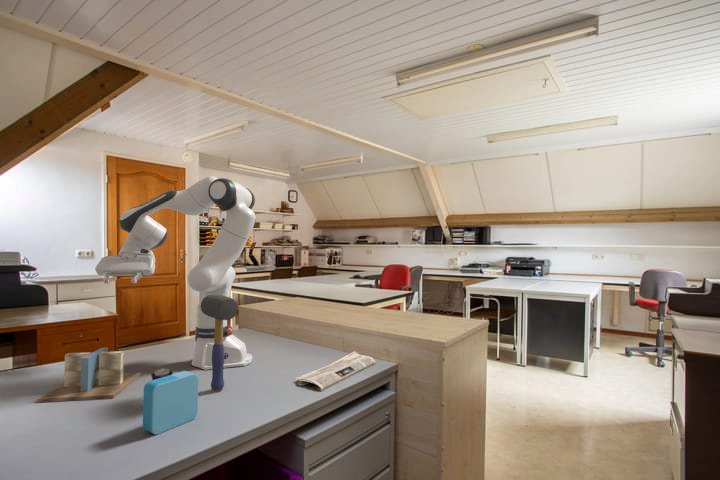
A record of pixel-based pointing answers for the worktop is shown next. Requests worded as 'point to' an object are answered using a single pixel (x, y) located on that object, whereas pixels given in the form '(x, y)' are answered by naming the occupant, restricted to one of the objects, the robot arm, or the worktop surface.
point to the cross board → (88, 394)
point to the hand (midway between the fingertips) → (119, 282)
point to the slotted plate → (90, 369)
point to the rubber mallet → (218, 332)
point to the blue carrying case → (170, 402)
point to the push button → (161, 373)
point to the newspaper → (337, 371)
